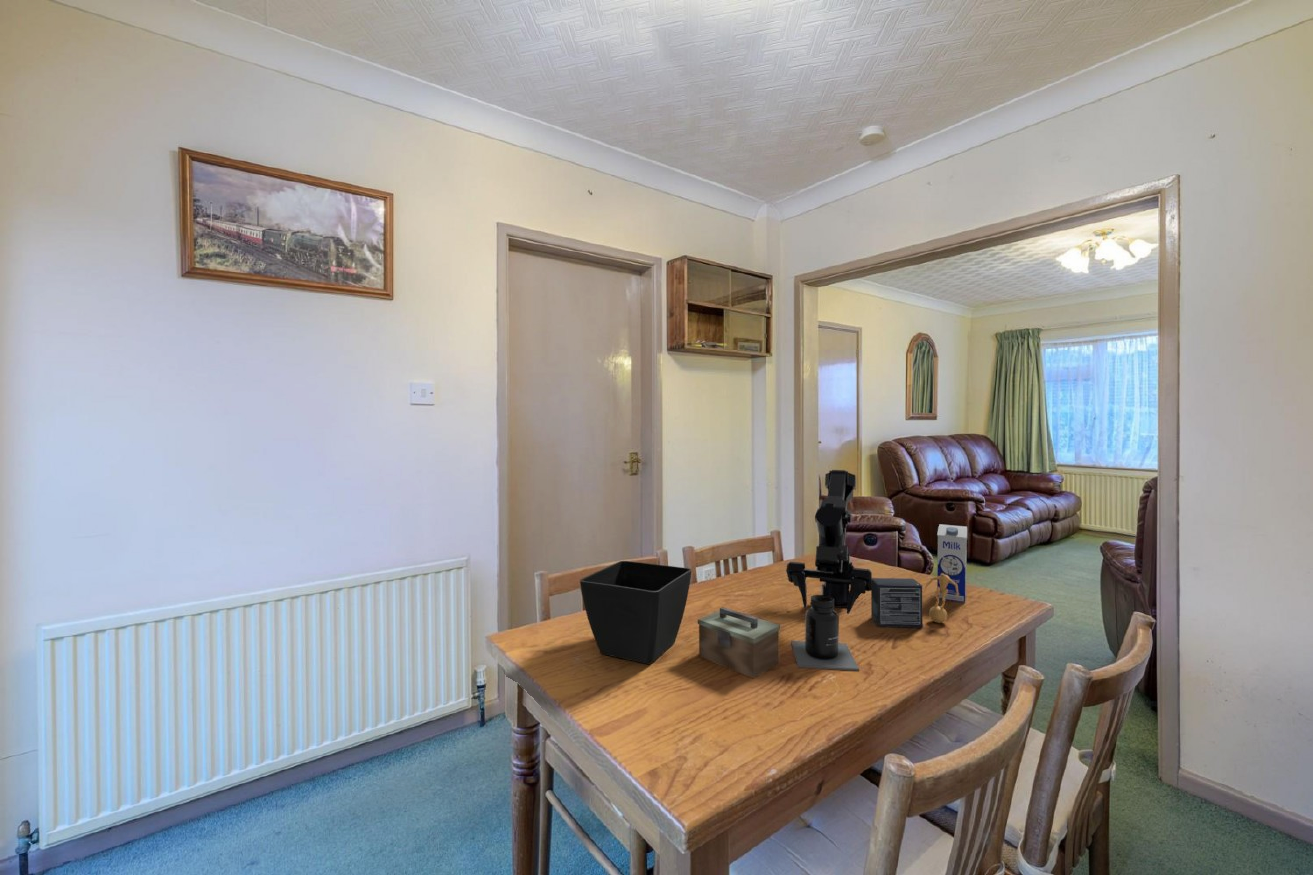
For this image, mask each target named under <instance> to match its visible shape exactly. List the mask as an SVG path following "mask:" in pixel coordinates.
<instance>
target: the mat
mask: <svg viewBox="0 0 1313 875" xmlns="http://www.w3.org/2000/svg"><path fill="white" fill-rule="evenodd" d="M790 642H791V643H790V644H791V647H792V650H793V655H794V658H795V661H796V662H795V663H796V666H797V668H806V669H819V670H820V669H822V670H824V669H825V670H840V671H860V667H859V665H858V664H857V662H856V660H855V658H854V656H853V654H852V652H851V650H850V649H849V646H848V645H847V643H843V642H838V655H837V657H835V658H833V659H828V660H824V659H818V658H814V657H812V656H810V655H809V654H807V652H806V650H805V641H804V640H790Z"/></svg>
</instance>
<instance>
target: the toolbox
mask: <svg viewBox="0 0 1313 875" xmlns="http://www.w3.org/2000/svg"><path fill="white" fill-rule="evenodd" d="M697 624H698V648H699V649H698V656H699V657H701V658H703V659H706V660H708V661H710V662H712V663H715V664H717V665H720V666H723V667H725V668H727V669H730V670H732V671H735V672H737V673H739V674H742V675H745V676H747V677H750V678H752V679H755V678H757V677H758V676H760V675H762V674H764V673H765V672H767V671H768V670H770V669H772V668H774V667H775V666H776V665H778V664H779V663H780V661H779V660H780V658H779V656H780V652H779V650H780V649H779V648H780V647H779V646H780V644H779V643H780V642H779V641H780V640H779V639H780V638H779V634H780V633H779V631H781V624H777V623H774V622H771V621H768V620H764V619H761V618H758V617H756V616H753V615H749V614H746V613H744V612H740V611H737V610H733V609H730V608H728V607H724V606H722V607H719V609H718V610H716V611H714V612H712V613H709V614H706V615H704V616H702V617H699V618H698V619H697Z"/></svg>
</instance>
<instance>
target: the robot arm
mask: <svg viewBox="0 0 1313 875" xmlns="http://www.w3.org/2000/svg"><path fill="white" fill-rule="evenodd" d="M824 487H825V489H827V497H826V498H825V499H822V500H821V503H820V507H819V508H817V510H816V513H815V515H814V520H815V523H816V525H817V526H816V527H817V532H818V535H819V538H818V545H817V546H816V550H815V551H816V552H815V560H814V565H815V568H816V569H812V568H806V565H805V562H800V561H788V562H787V564H786V571H785V572H786V576H787V578H788V582H790V583H793V586H795V587H798V590H799V593H800V595H801V598H802V604H803V608H804V609H807V605H808V604H807V602H808V600H807V595H808V594H807V593H808V592H807V589H808V588H807V578H809V579H810V578H811V579H819V582H820V583H821V582H823V584H822V585H821V595H826V596H829V597H832V598H833V599H834V608H846V614H847V615H848V614H850V612H851V611H852V608H853V607H854V604H855V603H856V601H857V599H859V596H860V595H861V594H866V592H871V590H872V578H873V577H872V573H873V572H872V571H871V570H870V569H869V568H861V567H855V566H854V563H853V562H851V556H850V554H851V553H850V552H849V547H848V545H846V538H847V537H846V536H847V532H846V531H847V525H850V524H851V522H852V519H853V517H852V516H853V515H852V514H851V512H850V510H848V504H849V502H850V501H851V500H852V499H853V498H854V491H856V489H857V476H856V475H855V474H854V473H850V472H849V471H848V470H847V469H846V470H845V469H832V470H829V472H827V473H825V477H824Z"/></svg>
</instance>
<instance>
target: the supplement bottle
mask: <svg viewBox="0 0 1313 875" xmlns="http://www.w3.org/2000/svg"><path fill="white" fill-rule="evenodd" d="M809 604H810V605H809V606H810V608H808V609H807V610H806V612H805V628H804V630H805V631H804V632H805V634H804V636H805V637H804V638H805V650H806V652H807V654H809V655H810V656H812V657H814V658H818V659H824V660H828V659H833V658H835V657H837V655H838V643H840V642H839V641H840V640H839V638H840V637H839V636H840V635H839V634H840V633H839V632H840V631H839V630H840V628H839V627H840V625H839V624H840V618H839V614H838V612H837V611H836V610H834V609H835V607H834V599H833V598H832V597H829V596H826V595H822V594H813V595H811V596H810V602H809Z"/></svg>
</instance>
